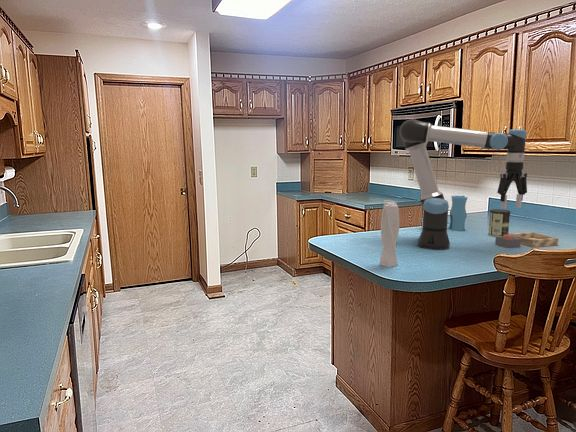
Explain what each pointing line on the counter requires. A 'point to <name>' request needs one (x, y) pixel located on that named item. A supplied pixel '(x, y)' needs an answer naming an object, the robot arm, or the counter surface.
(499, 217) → the coffee can
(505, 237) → the button
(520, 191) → the robot arm
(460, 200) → the vase
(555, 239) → the woven basket tray
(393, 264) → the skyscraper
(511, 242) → the button box
